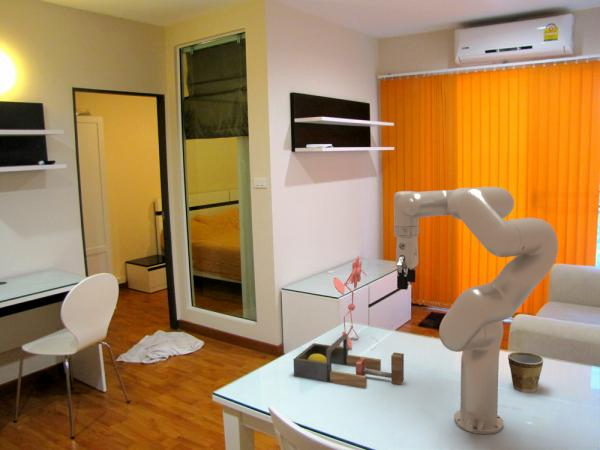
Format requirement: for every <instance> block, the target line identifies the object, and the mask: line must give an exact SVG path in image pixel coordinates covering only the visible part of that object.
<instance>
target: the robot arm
mask: <svg viewBox="0 0 600 450" xmlns="http://www.w3.org/2000/svg"><path fill="white" fill-rule="evenodd" d="M514 206H515V199H514V197H513V195H512V194H511V192H510V191H508V190H507V189H505V188H503V187H500V186H498V187H497V186H481V187H459V188H456V189H452V190H451V189H447V190H445V189H444V190H443V189H442V190H428V191H427V190H426V191H425V190H424V191H415V190H414V191H412V190H402V191H401V190H400V191H397V192H395V193H394V195H393V236H394V237H395V238H396V243H395V244H396V245H395V246H396V248H395V266H396V268H397V269H396V280H397V281H396V289H397V290H406V291H407V290H408V289H409V283H416V267H417V266H418V265H419V244H418V237H419V236H420V235H419V234H420V218H428V217H438V216H439V217H440V216H441V217H442V216H451V217H452V218H454V219H456V220H459V221H460V220H461V221H462V222H463V224H464V225H465V226H466V227H467V229H468V230H469V231H470V232H471V234H473V236H474V237H475V238H476V239H477V240H478V241H479V242H480V244H481V246H483V247H484V248H485V250H486V251H487V252H489V253H490V254H492V255H493V256H495V257H498V258H510V257H513V258H512V259H511V260H510V261H509V262H507V263H506V264H505V265H504V267H502V269H501V271H500V272H499V273H498V275H497V276H496V277H495V278H494V279H493V280H492V281H490V282H487V283H485V284H481V285H476V286H472V287H469V288H467V289H465V290H464V291H463V292H461V293H460V294H459V295H458V297H457V298H456V299H455V301H454V303H452V305H451V306H450V308H449V309H448V311H447V312H446V313H445V315H444V316H443V318H442V320H441V322H440V324H439V328H438V329H439V332H438V334H439V339H440V341H441V343H442V345H443V346H444V347H445V348H446V349H448V350H449V351H451V352H455V353H461V352H462V354H461V360H460V405H459V406H460V409H459V410H457V411H456V412H455V413H454V416H453V417H454V418H453V421H454V423H455V424H456V425H457V426H458V427H459V428H460V429H463V430H464V431H467V432H470V433H474V434H478V435H491V434H496V433H499V432H500V431H501V430H503V428H504V420H503V418H502V417H501V416H500V415H499V414H498V408H499V407H498V403H499V400H498V399H499V398H498V397H499V370H500V369H499V365H500V351H501V346H502V340H503V336H504V324H503V321H505V320H508V319H510V318H512V317H513V316H514V314H516V313H517V311H519V308H520V307H521V306H522V305H523V304H524V303H525V302H526V300H527V299H528V298H529V297H530V295H531V294H532V292H533V291H534V290H535V289H536V288H537V287H538V285H539V284H540V283H541V282H542V281H543V279H544V278H545V277H546V276H547V274H548V273H549V272H550V271H551V269H552V267H553V266H554V264H555V262H556V259H557V257H558V251H559V243H558V242H559V241H558V237H557V233H556V232H555V229H554V227H553V226H552V225H551V224H550V223H549V222H547V221H546V220H544V219H540V218H535V217H524V218H523V217H521V218H513V219H507V220H504V219H505V218H507V217H508V216H509V215H510V214H511V213H512V211H513V210H514Z"/></svg>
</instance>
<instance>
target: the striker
mask: <svg viewBox="0 0 600 450" xmlns="http://www.w3.org/2000/svg"><path fill="white" fill-rule="evenodd" d="M404 355H405V354H404V353H401V352H395V351H394V352H393V353H392V354H391V356H390V357H391V359H390V362H391V363H390V365H391V368H390V369H391V371H390V372H388V371H381V370H380V371H379V370H372V369H366V358H362V357H363V356H362V357H361V358H360V359H359V360H358V361H357V363H356V367H355V374H356V375H362V376H366V375H369V376H374V377H375V376H376V377H383V378H388V379H391V382H390V383H391V384H399V385H402V384H403V382H404V379H405V377H404V375H405V372H404V371H405V370H404V369H405V367H404V366H405V365H404V364H405V357H404Z"/></svg>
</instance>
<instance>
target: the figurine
mask: <svg viewBox="0 0 600 450" xmlns="http://www.w3.org/2000/svg"><path fill="white" fill-rule="evenodd" d="M362 264H363V263H362V260H360V256H359V255H357V256H356V258H355V260H353V262H352V264H351V265H352V266H351V267H352V270H351V273H350V275H349V276H348V277H347V279H346V281H345V283H343V282H342V281H341V279H340V278H337V277H336V276H335V277H333V285H334V288H335V289H336V290H337V291H338V293H340V294H341V295H345V287H346V288H347V289H348V290H349V291H350V292H351V303H350V304H348V307H347V308H348V310H349V311H348V312H346V314H345V315H344V316H343V327H344V331H343V332H342V335H343V334H347V337H348V348H349V349H350V350H352V348H353V347H352V345H353V344H352V340H351V339H350V336H349V335H350V333H351V331H352V332H354V334H355V335H356V337H357V339H360V337H359V336H358V334H357V333H356V331H355V330H354V325H353V319H352V318H353V317H352V311H354V310H355V309H356V305H355V304H354V292H353V290H352V289H351V288H350V287H349V286H348V284H351V285H353V288H354V289H355V290H356V288H357V287H358V283H360V282H361V280H362V276H361V274H362V273H363V274H364V276H368V275H367V274H366V273H365V271H363V269H362ZM349 314H350V322H351V323H350V324H351V325H350V329H349V330H348V332H346V320H345V317H347V315H349ZM342 335H341V336H342ZM372 339H374V340H375V338H373V337H372ZM376 342H379V341H378V340H376ZM341 344H342V342H341V343H340V344H339V345H338V346H337V347H341V346H340V345H341ZM376 348H377V347H376V346H375V347H374V348H373V349H371V351H372V350H374V349H376Z"/></svg>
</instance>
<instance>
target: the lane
mask: <svg viewBox="0 0 600 450" xmlns="http://www.w3.org/2000/svg"><path fill="white" fill-rule="evenodd" d="M361 357H362V358H366V369H369V370H375V371H381V369H382V364H381V363H382V359H380V358H374V357H369V356H368V357H367V356H360V355H355V354H348V355H347V365H346V366H348V367H355V368H356V363H357V361H358V360H359V359H360V358H361ZM367 378H368V377H367V376H366V375H364V376H362V375H356V373H347V372H344V371H336V370H332V371H331V372H330V382H329V383H332V384H336V385H343V386H349V387H353V388H354V387H355V388H360V389H367V388H368V385H367V384H368V379H367Z"/></svg>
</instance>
